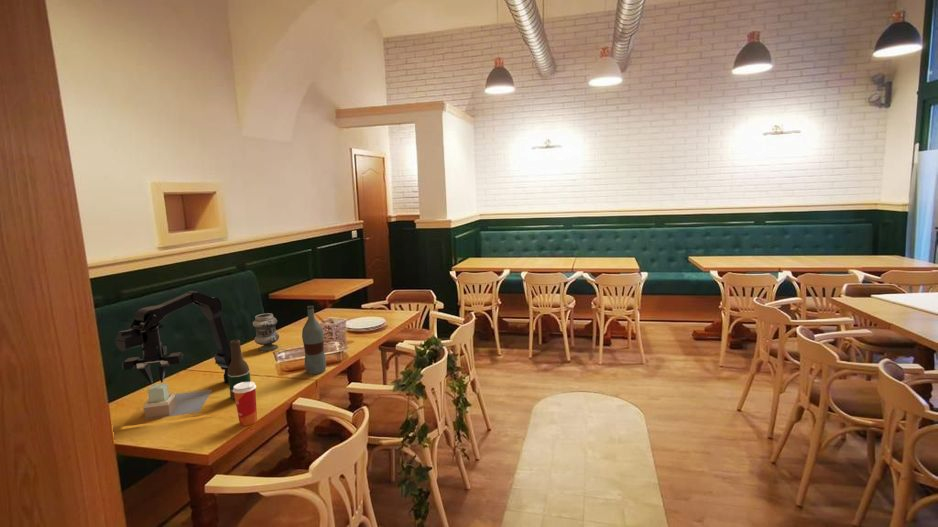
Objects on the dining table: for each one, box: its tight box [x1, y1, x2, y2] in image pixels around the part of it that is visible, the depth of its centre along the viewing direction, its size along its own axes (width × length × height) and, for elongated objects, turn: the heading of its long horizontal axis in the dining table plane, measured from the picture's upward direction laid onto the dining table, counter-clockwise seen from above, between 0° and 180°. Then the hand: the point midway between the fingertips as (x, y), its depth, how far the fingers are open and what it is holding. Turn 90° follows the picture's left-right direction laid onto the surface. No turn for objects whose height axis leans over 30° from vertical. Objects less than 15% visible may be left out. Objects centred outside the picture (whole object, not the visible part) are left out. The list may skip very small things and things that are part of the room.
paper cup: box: [233, 381, 258, 427], centre depth 177 cm, size 8×8×14 cm
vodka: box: [301, 305, 327, 375], centre depth 223 cm, size 9×9×30 cm
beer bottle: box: [228, 339, 252, 401], centre depth 197 cm, size 8×8×24 cm
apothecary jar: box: [252, 312, 280, 353], centre depth 259 cm, size 12×12×18 cm
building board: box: [143, 389, 214, 421], centre depth 194 cm, size 18×22×6 cm
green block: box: [147, 383, 170, 403], centre depth 186 cm, size 5×5×6 cm
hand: (157, 382), depth 185 cm, fingers open, 3 cm apart
